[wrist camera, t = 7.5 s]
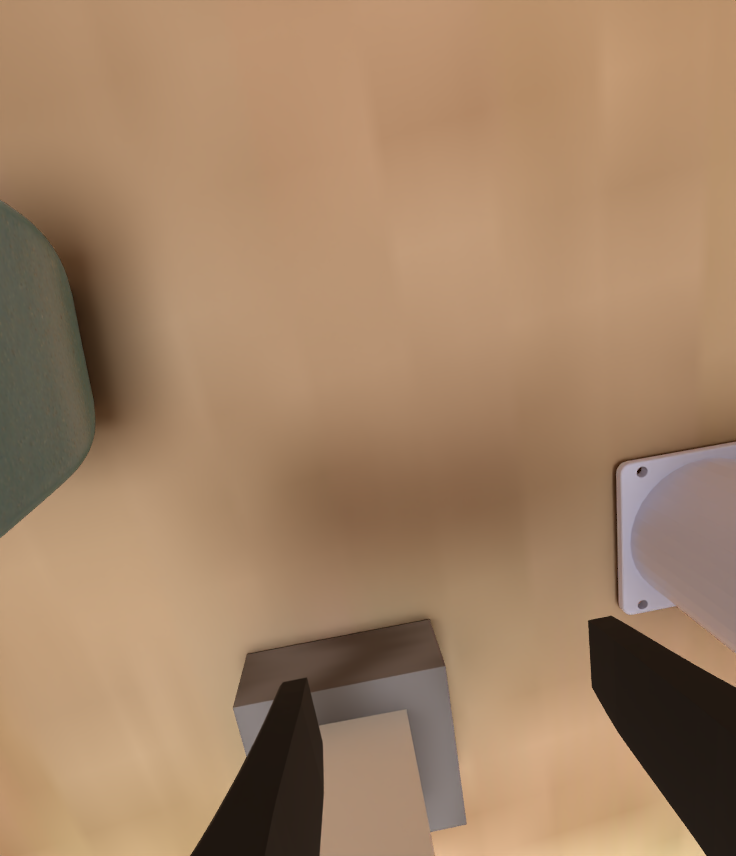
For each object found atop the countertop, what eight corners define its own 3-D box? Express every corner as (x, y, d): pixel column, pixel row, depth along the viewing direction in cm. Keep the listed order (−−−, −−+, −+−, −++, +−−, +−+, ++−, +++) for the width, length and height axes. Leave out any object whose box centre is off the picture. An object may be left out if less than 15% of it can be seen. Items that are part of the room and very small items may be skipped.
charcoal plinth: (429, 619, 21) (445, 665, 18) (449, 761, 23) (466, 824, 20) (247, 654, 21) (232, 707, 18) (284, 796, 23) (277, 864, 20)
